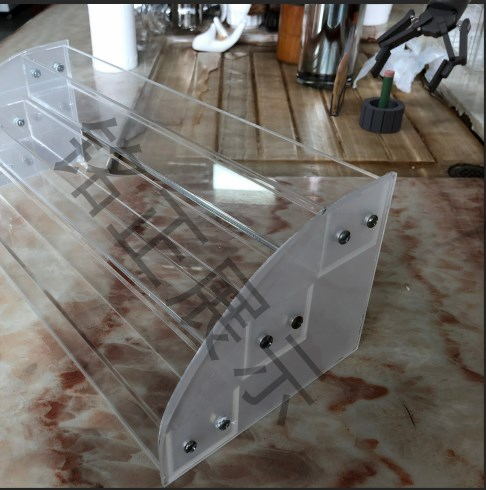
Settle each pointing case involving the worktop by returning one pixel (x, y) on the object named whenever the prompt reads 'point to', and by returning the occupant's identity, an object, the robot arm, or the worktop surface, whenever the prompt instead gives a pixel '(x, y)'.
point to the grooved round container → (381, 115)
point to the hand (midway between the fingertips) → (400, 82)
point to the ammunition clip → (339, 87)
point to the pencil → (386, 89)
